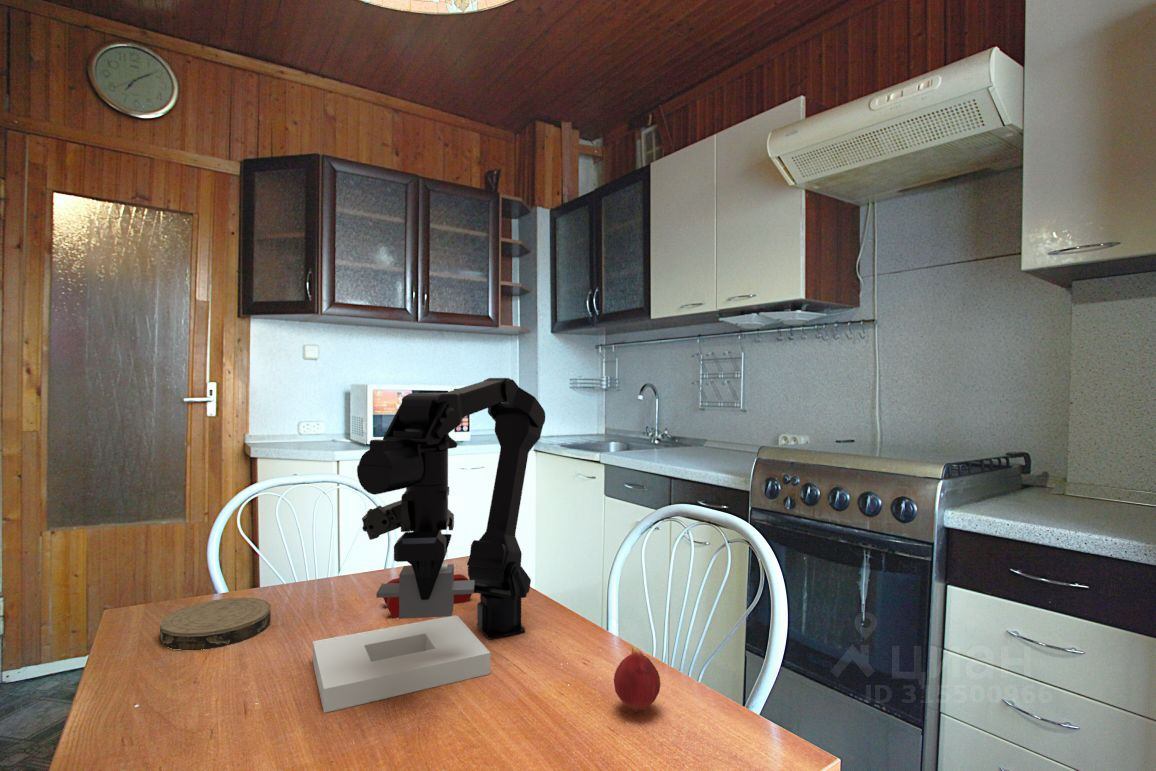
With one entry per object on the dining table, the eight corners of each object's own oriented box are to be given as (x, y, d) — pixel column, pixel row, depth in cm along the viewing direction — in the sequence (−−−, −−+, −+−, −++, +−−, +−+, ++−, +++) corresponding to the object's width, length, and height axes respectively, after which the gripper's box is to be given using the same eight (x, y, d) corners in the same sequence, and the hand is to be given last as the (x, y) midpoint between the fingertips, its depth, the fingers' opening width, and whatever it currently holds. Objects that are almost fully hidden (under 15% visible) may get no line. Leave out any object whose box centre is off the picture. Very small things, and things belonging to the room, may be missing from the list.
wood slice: (260, 645, 96) (260, 626, 96) (143, 658, 91) (143, 638, 91) (278, 610, 111) (278, 593, 111) (179, 619, 106) (179, 602, 106)
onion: (663, 703, 78) (664, 642, 78) (654, 727, 73) (655, 661, 73) (620, 696, 80) (620, 635, 80) (608, 718, 75) (608, 654, 75)
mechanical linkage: (388, 620, 106) (388, 592, 106) (382, 607, 112) (382, 580, 112) (476, 606, 113) (476, 579, 113) (465, 594, 119) (466, 569, 119)
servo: (376, 619, 82) (376, 569, 82) (382, 608, 86) (382, 561, 86) (473, 615, 83) (473, 566, 83) (474, 604, 87) (474, 557, 87)
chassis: (456, 633, 100) (456, 615, 100) (490, 673, 86) (490, 652, 86) (312, 661, 90) (312, 641, 90) (323, 712, 76) (324, 689, 76)
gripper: (380, 473, 93) (380, 575, 93) (351, 496, 74) (351, 623, 74) (454, 472, 94) (454, 572, 94) (443, 494, 76) (443, 618, 76)
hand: (427, 593), depth 85 cm, fingers closed on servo, 4 cm apart
